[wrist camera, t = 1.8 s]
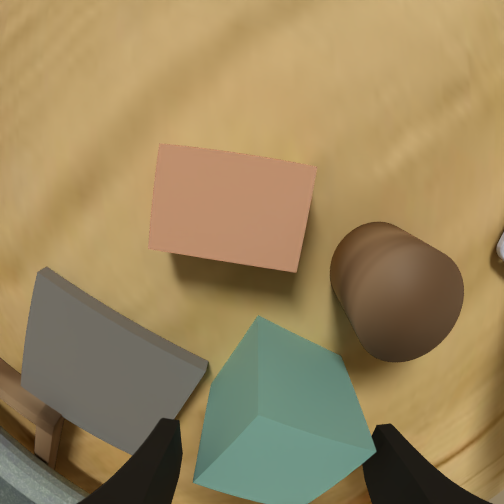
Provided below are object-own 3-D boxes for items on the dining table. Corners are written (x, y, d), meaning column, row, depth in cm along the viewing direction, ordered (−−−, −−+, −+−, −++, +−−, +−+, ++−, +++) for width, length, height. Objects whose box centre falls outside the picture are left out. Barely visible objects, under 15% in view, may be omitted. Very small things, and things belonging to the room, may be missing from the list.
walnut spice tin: (431, 252, 13) (481, 285, 9) (380, 324, 14) (414, 376, 10) (364, 203, 12) (407, 223, 8) (311, 284, 13) (329, 334, 9)
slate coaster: (208, 361, 14) (205, 371, 13) (148, 452, 16) (145, 461, 16) (46, 266, 13) (37, 271, 12) (26, 380, 15) (20, 387, 15)
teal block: (341, 355, 14) (376, 451, 8) (288, 415, 15) (298, 510, 10) (258, 314, 14) (258, 414, 8) (211, 383, 15) (192, 482, 9)
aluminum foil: (134, 527, 17) (155, 521, 17) (118, 587, 11) (139, 589, 10) (-80, 345, 13) (-79, 321, 12) (-127, 385, 7) (-134, 363, 6)
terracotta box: (305, 165, 12) (317, 166, 10) (289, 251, 13) (296, 272, 11) (178, 146, 12) (159, 143, 9) (167, 232, 13) (148, 249, 10)
